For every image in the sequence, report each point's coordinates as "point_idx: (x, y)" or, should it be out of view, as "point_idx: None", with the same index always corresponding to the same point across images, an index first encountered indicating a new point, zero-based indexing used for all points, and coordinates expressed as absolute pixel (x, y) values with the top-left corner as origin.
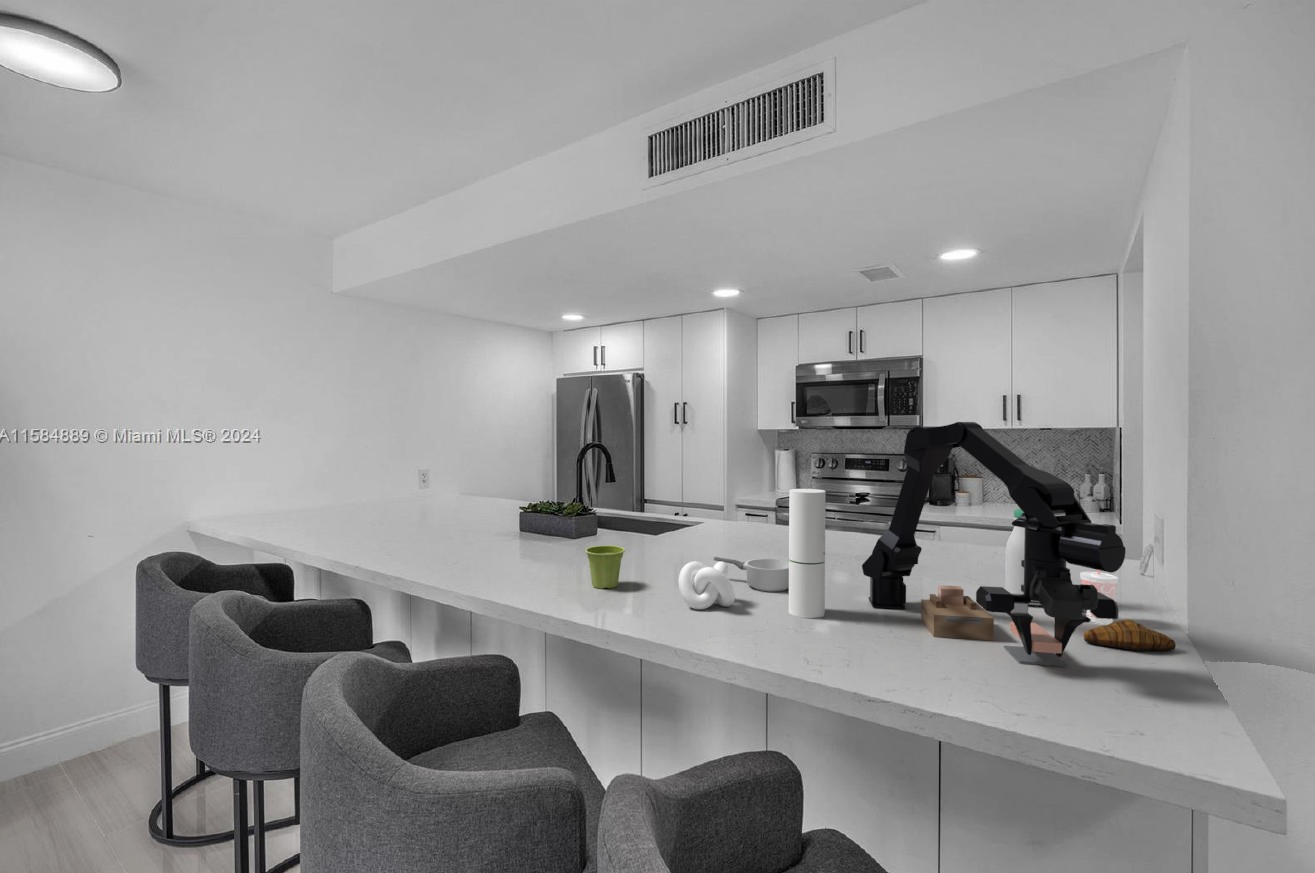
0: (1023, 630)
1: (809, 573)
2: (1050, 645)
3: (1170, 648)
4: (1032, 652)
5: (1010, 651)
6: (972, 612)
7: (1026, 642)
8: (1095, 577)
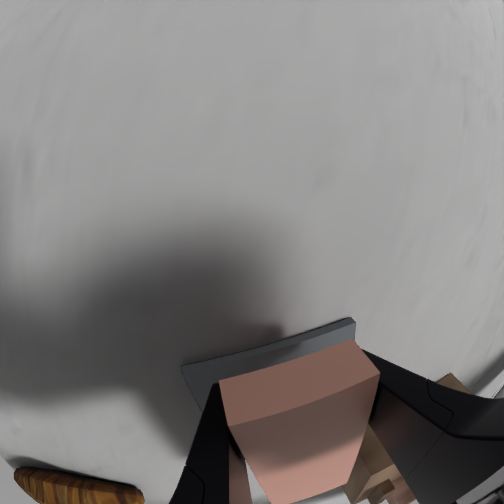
0: (450, 392)
1: None
2: (289, 393)
3: (18, 469)
4: None
5: None
6: (397, 469)
7: (392, 366)
8: None
